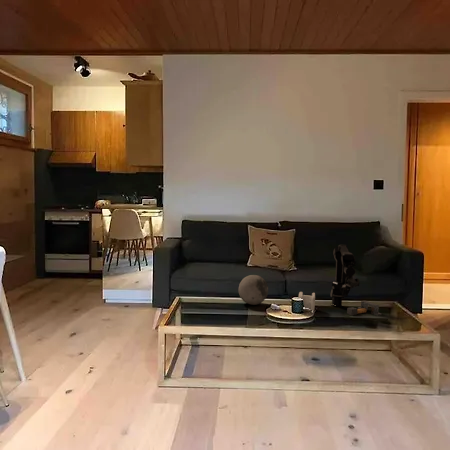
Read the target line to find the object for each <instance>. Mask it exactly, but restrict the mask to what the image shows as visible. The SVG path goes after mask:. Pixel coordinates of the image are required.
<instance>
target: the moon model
mask: <svg viewBox="0 0 450 450" xmlns="http://www.w3.org/2000/svg"><path fill="white" fill-rule="evenodd" d="M267 283H268V282H267V281H266V280H265V278H263V277H262V276H260V275H259V274H258V275H256V274H250V275H247V276H245V277H243V278H242V280H241V281H240V283H239V284H238V285H239V286H238V294H239V297H240V299H241V300H242V301H243V302H244V303H246V304H247V305H251V306H255V305H260V304H261V303H263V302H264V301H265V300H266V299H267V297H268V294H269V286H268V284H267Z"/></svg>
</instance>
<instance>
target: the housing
mask: <svg viewBox="0 0 450 450" xmlns="http://www.w3.org/2000/svg"><path fill="white" fill-rule="evenodd" d="M360 302H361V303H360V306H358V307H357V309H363V308H366V310H367V311H368V310H369V307H371V309H370V313H371V314H372V315H375V316H376V317H377V316H382V313H381V312H379V308H380V305H379V304H377V303H374V302H370V301H368V300H361V301H360Z"/></svg>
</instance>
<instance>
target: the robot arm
mask: <svg viewBox="0 0 450 450" xmlns="http://www.w3.org/2000/svg"><path fill="white" fill-rule="evenodd" d="M332 253H333V254H332V255H333V257H334V258H333V259H334V260H335V277H334V278H335V281H333V282H331V286H332V288H331V291H330V298H331V304H332V303H333V304H334V305H336V307H335V308H339V306H341V307H343V306H342V305H343V298H347V297H348V295H349V293H350V291H351V289H353V288H354V287H355V288H356V287H360V279H359V278H353V276H354V275H355V274H356V270H355V268H354V266H356V258H355V256H354V254H353V253H352V252H350V251H349V248H348V247H347V244H339V245H337V246H336V247H335V248H334V249H333V252H332Z"/></svg>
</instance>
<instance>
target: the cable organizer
mask: <svg viewBox="0 0 450 450" xmlns="http://www.w3.org/2000/svg"><path fill="white" fill-rule="evenodd" d="M298 298H301V299H303V301H304V307H305V308H309V309H311V310H313V311H314V312H315V305H316V293H315V292H312V293H311V295H307V294H306V295H305V294H304V293H303V291H299V292H298ZM298 298H297V299H298Z"/></svg>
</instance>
